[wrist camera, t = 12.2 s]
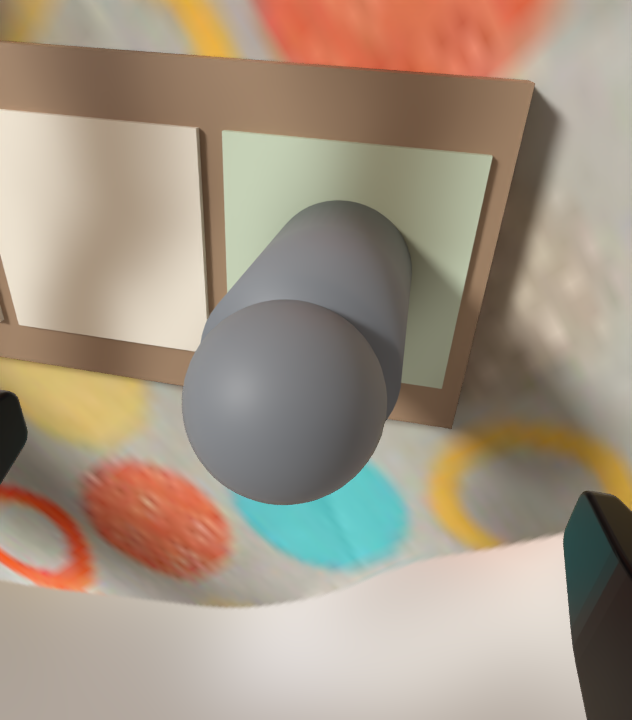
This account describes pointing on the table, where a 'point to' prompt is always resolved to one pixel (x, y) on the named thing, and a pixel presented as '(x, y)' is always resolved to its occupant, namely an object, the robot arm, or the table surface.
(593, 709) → the robot arm
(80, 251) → the game board
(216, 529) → the table surface
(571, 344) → the table surface
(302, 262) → the pawn
